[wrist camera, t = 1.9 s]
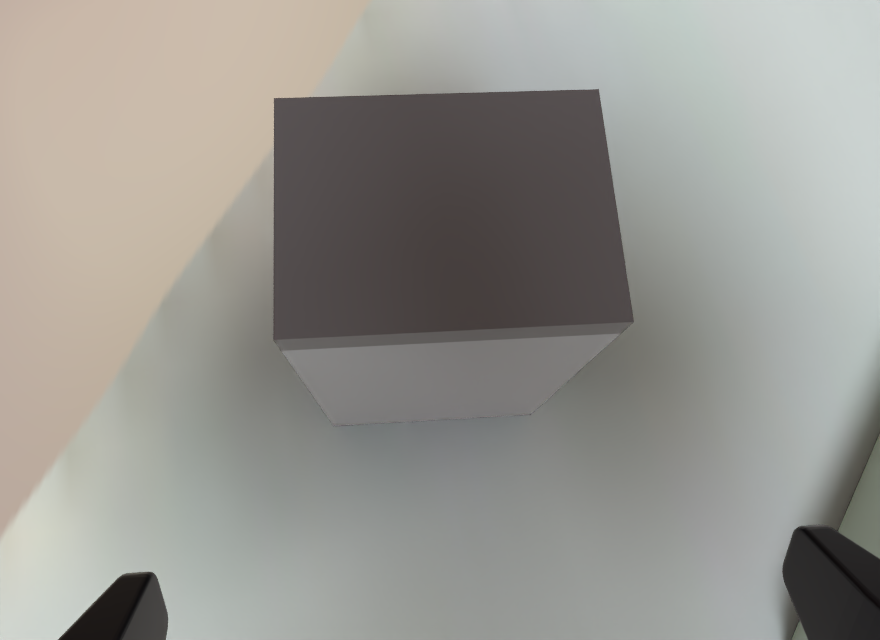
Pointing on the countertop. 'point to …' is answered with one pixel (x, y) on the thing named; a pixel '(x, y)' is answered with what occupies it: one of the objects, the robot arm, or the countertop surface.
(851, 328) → the countertop surface
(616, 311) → the grey rectangular block
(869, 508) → the tray
